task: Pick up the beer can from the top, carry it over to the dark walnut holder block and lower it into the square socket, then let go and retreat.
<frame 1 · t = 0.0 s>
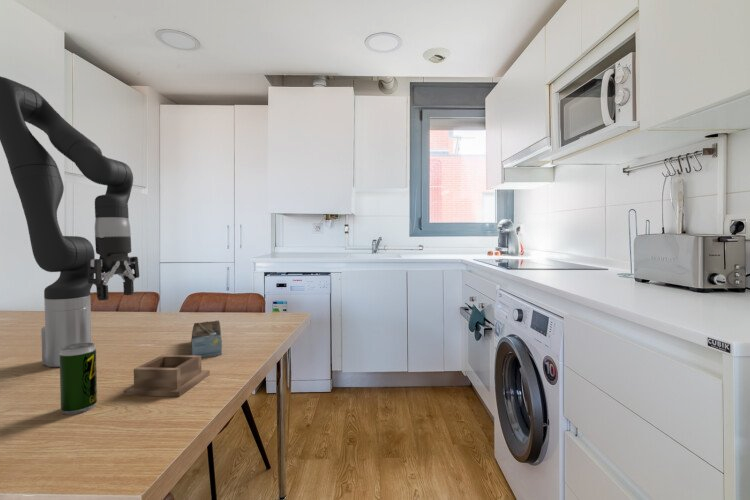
hand: (116, 297, 93), 17 cm above the table, tool pointing down, fingers open, 8 cm apart
beverage carton: (207, 349, 107), on the table
walnut holder: (169, 384, 79), on the table
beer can: (79, 409, 68), on the table
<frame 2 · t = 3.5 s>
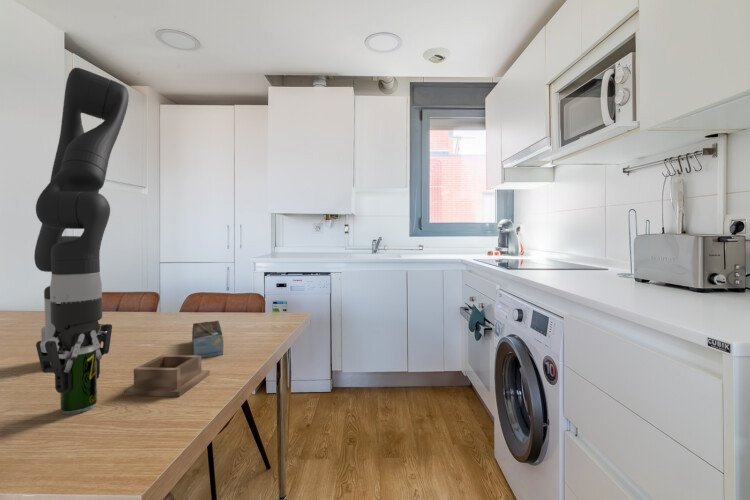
hand: (78, 385, 68), 4 cm above the table, tool pointing down, fingers closed on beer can, 5 cm apart
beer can: (79, 409, 68), on the table, touching gripper
everything else where it was.
when the fingers open (7 cm above the table, at t = 7.9 s): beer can drops 1 cm, resting on walnut holder.
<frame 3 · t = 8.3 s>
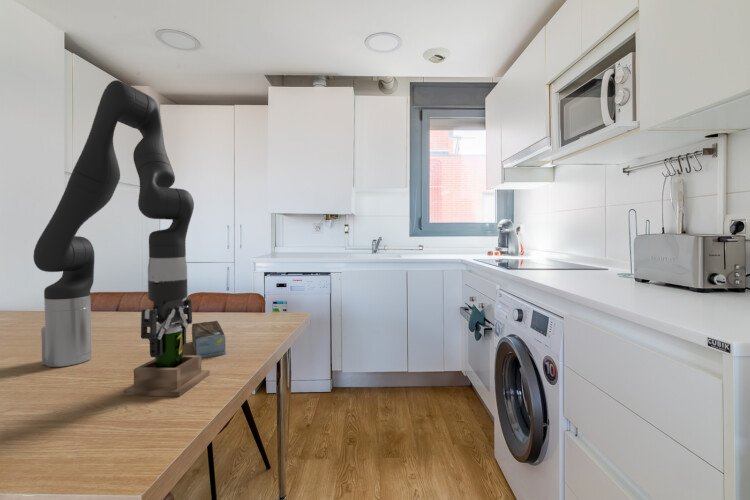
hand: (169, 350, 79), 8 cm above the table, tool pointing down, fingers open, 8 cm apart
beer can: (169, 380, 79), point 1 cm above the table, touching walnut holder
everything else where it was.
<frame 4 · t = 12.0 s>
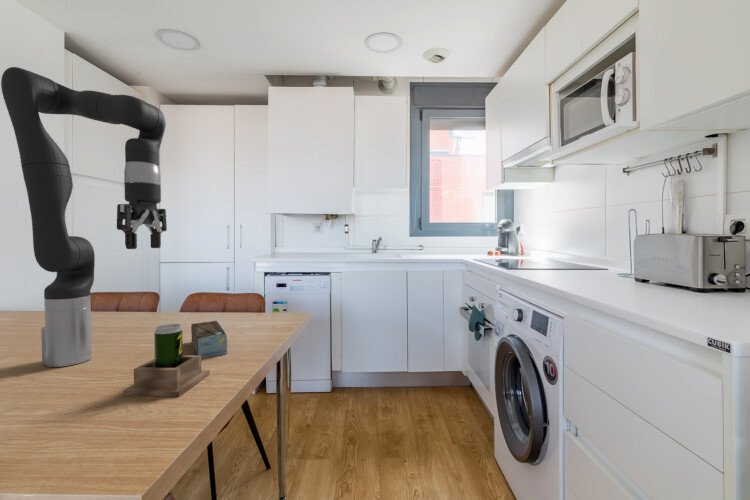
hand: (144, 248, 88), 30 cm above the table, tool pointing down, fingers open, 8 cm apart
nothing on the table moved.
at the end: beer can 0.1 cm off-centre on the walnut holder, point 0.8 cm above the walnut holder's base; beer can tilted 0°; the gripper is holding nothing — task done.
